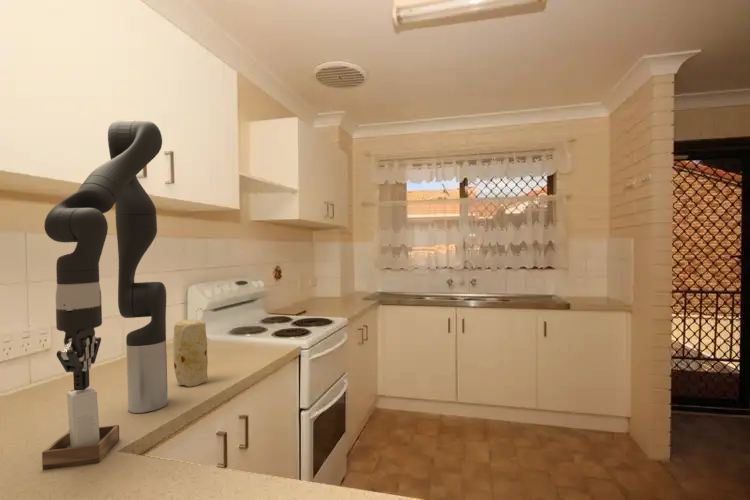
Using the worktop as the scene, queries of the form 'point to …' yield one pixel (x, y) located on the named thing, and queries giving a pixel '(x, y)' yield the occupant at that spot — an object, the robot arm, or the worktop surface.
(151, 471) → the worktop surface
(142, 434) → the worktop surface
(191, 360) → the food model
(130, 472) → the worktop surface
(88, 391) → the skincare box
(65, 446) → the brown square tray
